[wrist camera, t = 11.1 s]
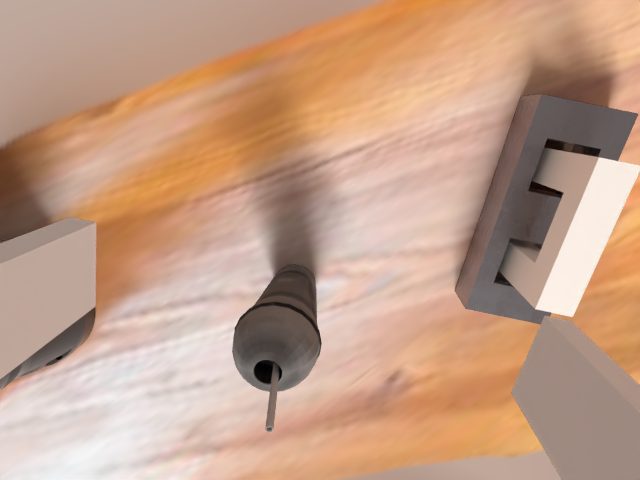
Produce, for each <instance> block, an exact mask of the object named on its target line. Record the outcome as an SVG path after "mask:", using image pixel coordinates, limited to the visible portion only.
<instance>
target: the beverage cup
mask: <svg viewBox="0 0 640 480" xmlns="http://www.w3.org/2000/svg"><path fill="white" fill-rule="evenodd" d="M315 285H316V283H315V278H314V276H313V275H312V273H311V272H310V271H309V270H308V269H307V268H305V267H303V266H300V265H288V266H286V267H284V268H282V269H281V270H280V271H279V272H278V274H277V275H276V276H275V277H274V278H273V279H272V281H271V282H270V284H269V285H268V287H267V288H266V289H265V291H264V292H263V294H262V295H261V297H260V298H259V299H258V301H257V302H256V304H255V305H254V306H253V307H252V308H250V309H249V310H248V311H247V312H246V313H244V314H243V315H242V316H241V317H240V319H239V321H238V323H237V325H236V327H235V333H234V340H233V350H232V352H233V357H234V361H235V365H236V367H237V369H238V371H239V372H240V374H241V375H242V377H243V378H244V379H245V380H246V381H247V382H248V383H250V384H251V385H252V386H254V387H256V388H258V389H260V390H264V391H269V392H270V396H269V404H268V412H267V420H266V429H265V430H266V431H267V432H272V431H273V428H274V418H275V408H276V399H277V391H285V390H287V389H290V388H292V387H294V386H296V385H298V384H299V383H300V382H301V381H303V380H304V379H305V378H306V377H307V376H308V375H309V373H310V371H311V370H312V368H313V366H314V365H315V363H316V360H317V358H318V357H319V354H320V349H321V338H320V332H319V330H318V326H317V303H316V286H315Z"/></svg>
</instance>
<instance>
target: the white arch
mask: <svg viewBox="0 0 640 480" xmlns="http://www.w3.org/2000/svg"><path fill="white" fill-rule="evenodd" d="M639 171H640V166H639V165H634V164H629V163H624V162H619V161H615V160H610V159H605V158H600V157H594V156H589V155H583V154H577V153H572V152H566V151H560V150H555V149H549V148H544V149H543V151H542V154H541V157H540V159H539V162H538V165H537V167H536V170H535V173H534V175H533V178H532V181H533V182H536V183H539V184H542V185H544V186H547V187H550V188H552V189H555V190H558V191H561V192H563V196H562V198H561V201H560V203H559V206H558V208H557V211H556V213H555V216H554V218H553V221H552V223H551V226H550V228H549V231H548V233H547V236H546V238H545V240H544V243H543V245H542V248H541V249H540V248H538V247H537V246H535V245H534V244H533V243H531V242H528V241H523V240H518V239H513V238H510V240H509V243H508V245H507V248H506V251H505V253H504V256H503V259H502V261H501V264H500V267H499V269H498V271H499V272H500V273H501V274H502V275H503V276H504V277H505V278H506V279H507V280H508V281H509V282H510V283H511V284H512V285H513V286H514V287H515V288H516V290H517V291H518V292H519V293H520V294H521V295H522V296H523V297H524V298H525V299H526V300H527V301H528V302H529V303H530V304H531V305H532V306H533V307H534V308H535V309H537V310H542V311H546V312H551V313H556V314H561V315H566V316H571V317H573V315H574V313H575V311H576V309H577V306H578V304H579V302H580V300H581V298H582V295H583V293H584V291H585V289H586V287H587V285H588V282H589V280H590V278H591V276H592V274H593V272H594V269H595V267H596V265H597V263H598V261H599V258H600V256H601V254H602V252H603V250H604V248H605V245H606V243H607V241H608V239H609V237H610V235H611V232H612V230H613V228H614V226H615V224H616V221H617V219H618V217H619V215H620V213H621V211H622V208H623V206H624V204H625V202H626V200H627V198H628V195H629V193H630V191H631V189H632V187H633V184H634V182H635V180H636V178H637V176H638V174H639Z"/></svg>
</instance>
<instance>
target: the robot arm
mask: <svg viewBox="0 0 640 480" xmlns="http://www.w3.org/2000/svg"><path fill="white" fill-rule="evenodd" d="M95 306H96V222H92V221H87V220H82V219H77V218H72V217H69V218H67V219H64V220H61V221H59V222H56V223H53V224H51V225H48V226H45V227H43V228H40V229H37V230H34V231H32V232H29V233H26V234H24V235H21V236H18V237H16V238H13V239H10V240H6V241H1V242H0V390H2V389H3V388H4V387H5V386H7V385H8V384H9V383H10V382H12V381H13V380H14V379H17V378H19V377H22V376H24V375H27V374H29V373H32V372H34V371H37V370H39V369H41V368H43V367H45V366H49V365H52V364H54V363H57V362H59V361H61V360H63V359H64V358H66V357H67V356H69V355H70V354H71V353H72V352H74V351H75V350H76V349H77V348H78V347H79V346H81V345H82V344H83V343H84V342H85V340H86V339H87V338H88V336H89V335H90V333H91V330H92V328H93V324H94V318H95V309H94V307H95ZM511 394H512V395H513V397H514V399H515V400H516V402H517V404H518V406H519V407H520V409H521V411H522V412H523V414H524V416H525V418H526V419H527V421H528V423H529V424H530V426H531V428H532V430H533V431H534V433H535V435H536V436H537V438H538V440H539V442H540V443H541V445H542V447H543V448H544V450H545V452H546V453H547V455H548V457H549V459H550V460H551V462H552V464H553V465H554V467H555V469H556V471H557V472H558V474H559V476H560V478H561V479H562V480H640V385H639V384H638V383H637V382H636V381H635V380H634V379H633V378H632V377H631V376H630V375H629V374H627V373H626V372H625V371H624V370H623V369H622V368H621V367H620V366H619V365H618V364H617V363H616V362H615V361H613V360H612V359H611V358H610V357H609V356H608V355H607V354H606V353H605V352H604V351H603V350H602V349H601V348H600V347H598V346H597V345H596V344H595V343H594V342H593V341H592V340H591V339H590V338H589V337H588V336H587V335H586V334H585V333H583V332H582V331H581V330H580V329H579V328H578V327H577V326H576V325H575V324H574V323H573V322H572V321H569V320H564V319H560V318H555V317H550V316H544V318H543V320H542V323H541V325H540V327H539V330H538V332H537V334H536V336H535V339H534V341H533V343H532V346H531V348H530V350H529V353H528V355H527V357H526V360H525V362H524V364H523V367H522V369H521V371H520V373H519V376H518V378H517V380H516V383H515V385H514V387H513V390H512V392H511Z"/></svg>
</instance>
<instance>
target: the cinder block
mask: <svg viewBox="0 0 640 480" xmlns="http://www.w3.org/2000/svg"><path fill="white" fill-rule="evenodd" d="M637 116H638V114H637V113H632V112H627V111H622V110H617V109H612V108H607V107H603V106H598V105H593V104H588V103H583V102H578V101H573V100H568V99H563V98H559V97H554V96H549V95H544V94H537V95H527V96H521V97H520V100H519V103H518V106H517V109H516V112H515V115H514V118H513V121H512V124H511V127H510V130H509V133H508V136H507V139H506V142H505V144H504V147H503V150H502V153H501V156H500V159H499V162H498V165H497V168H496V171H495V174H494V177H493V180H492V183H491V186H490V189H489V192H488V195H487V198H486V200H485V203H484V206H483V209H482V212H481V215H480V218H479V221H478V224H477V227H476V230H475V233H474V236H473V239H472V242H471V245H470V248H469V251H468V253H467V256H466V259H465V262H464V265H463V268H462V271H461V274H460V277H459V280H458V283H457V286H456V289H455V292H456V294H457V295H458V297H459V299H460V300H461V302H462V304H463V305H464V307H465V309H470V310H474V311H479V312H484V313H489V314H494V315H499V316H503V317H508V318H513V319H518V320H523V321H528V322H532V323H537V324H541V323H542V320H543V318H544V316H550V315H551V312H546V311H542V310H537V309H535V308H534V307H533V306H532V305H531V304H530V303H529V302H528V301H527V300H526V299H525V298H524V297H523V296H522V295H521V294H520V293H519V292H518V291H517V290H516V288H515V287H514V286H513V285H512V284H511V283H510V282H509V281H508V280H507V279H506V278H505V277H504V276H503V275H502V274H501V273H500V272H499V271H498V269H499V267H500V264H501V261H502V259H503V256H504V253H505V251H506V248H507V245H508V243H509V240H510V238H513V239H518V240H523V241H528V242H533V243H536V244H535V246H537V247H538V248H540V249H541V248H542V245H543V243H544V240H545V238H546V236H547V233H548V231H549V228H550V226H551V223H552V221H553V218H554V216H555V213H556V211H557V208H558V206H559V203H560V201H561V198H562V196H563V192H561V191H558V190H557V192H556V193H554V192H549V191H544V190H539V189H535V188H530V187H529V186H530V183H531V181H532V178H533V175H534V173H535V170H536V167H537V165H538V162H539V159H540V157H541V154H542V151H543V149H544V146H545V143H546V141H547V140H551V141H556V142H561V143H566V144H570V145H575V146H574V149H573V151H572V153H577V154H583V155H589V156H594V157H600V158H605V159H610V160H615V161H618V159H619V157H620V155H621V153H622V150H623V148H624V146H625V143H626V141H627V139H628V137H629V134H630V132H631V130H632V127H633V125H634V123H635V121H636V118H637Z"/></svg>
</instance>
